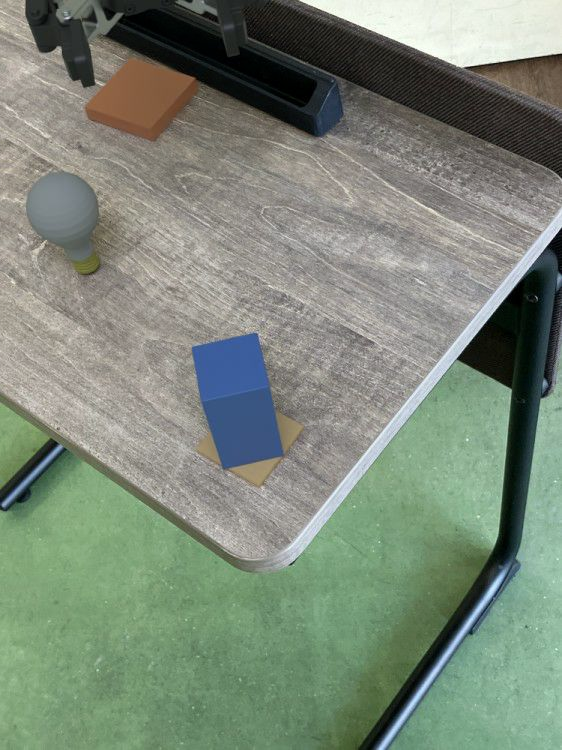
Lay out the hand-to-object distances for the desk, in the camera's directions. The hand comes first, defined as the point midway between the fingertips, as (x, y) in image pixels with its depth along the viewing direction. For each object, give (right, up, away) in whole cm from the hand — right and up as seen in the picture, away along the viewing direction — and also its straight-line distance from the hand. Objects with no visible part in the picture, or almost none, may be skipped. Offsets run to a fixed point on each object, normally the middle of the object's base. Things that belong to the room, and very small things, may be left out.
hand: (159, 58), depth 54 cm
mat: (+5, -23, +14) cm, 27 cm away
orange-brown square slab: (-6, +8, +36) cm, 37 cm away
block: (+5, -22, +14) cm, 27 cm away
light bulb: (-9, -9, +25) cm, 28 cm away
